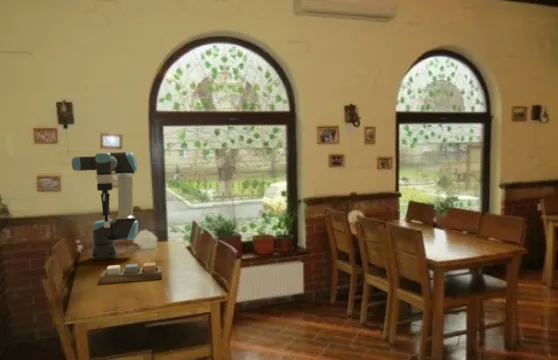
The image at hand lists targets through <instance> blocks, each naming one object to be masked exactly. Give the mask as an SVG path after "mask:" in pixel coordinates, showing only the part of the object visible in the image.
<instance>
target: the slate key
mask: <svg viewBox="0 0 558 360" xmlns="http://www.w3.org/2000/svg"><path fill="white" fill-rule="evenodd" d="M138 268H139V263H130V264H129V263H128V264H125V268H124V269H125V272H126V274H129V273H138Z"/></svg>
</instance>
